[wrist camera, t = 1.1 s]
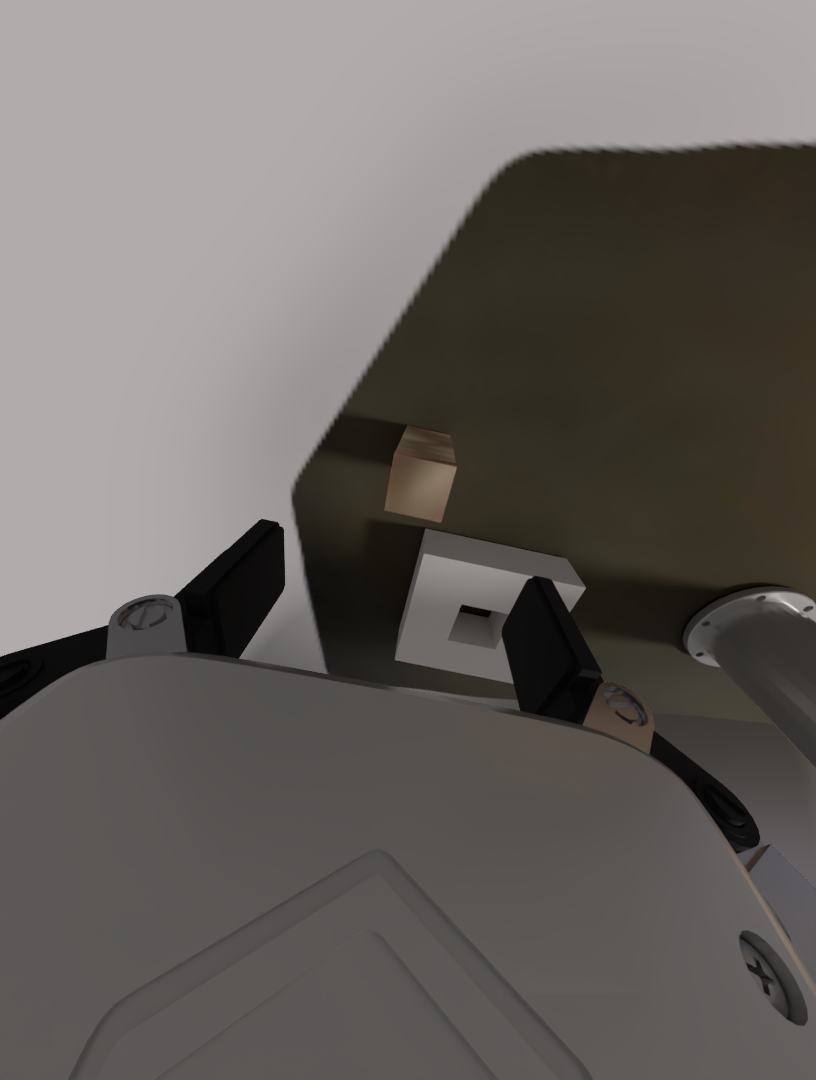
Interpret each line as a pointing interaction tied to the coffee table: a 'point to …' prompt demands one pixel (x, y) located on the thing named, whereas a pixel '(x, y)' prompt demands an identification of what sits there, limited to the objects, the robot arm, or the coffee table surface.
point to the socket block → (471, 602)
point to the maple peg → (421, 474)
